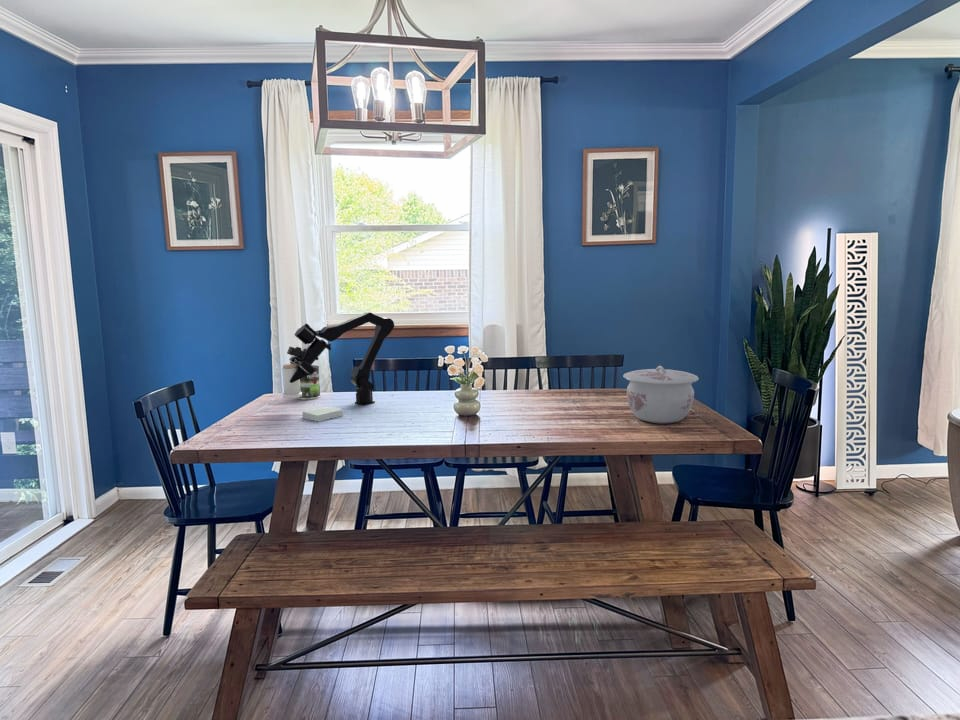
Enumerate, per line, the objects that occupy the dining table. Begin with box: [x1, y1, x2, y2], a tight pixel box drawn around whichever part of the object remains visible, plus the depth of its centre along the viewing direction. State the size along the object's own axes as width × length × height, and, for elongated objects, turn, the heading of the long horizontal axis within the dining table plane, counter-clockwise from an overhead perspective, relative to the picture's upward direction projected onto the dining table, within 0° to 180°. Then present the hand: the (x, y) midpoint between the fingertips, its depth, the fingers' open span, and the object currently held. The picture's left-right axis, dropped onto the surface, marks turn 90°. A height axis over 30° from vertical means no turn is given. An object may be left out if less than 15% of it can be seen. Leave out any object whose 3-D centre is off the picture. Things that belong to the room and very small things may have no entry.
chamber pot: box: [622, 365, 699, 425], centre depth 239 cm, size 28×28×21 cm
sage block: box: [301, 405, 344, 422], centre depth 252 cm, size 12×10×2 cm
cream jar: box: [281, 363, 302, 399], centre depth 258 cm, size 7×7×13 cm
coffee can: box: [297, 364, 321, 401], centre depth 288 cm, size 10×10×14 cm
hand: (288, 380), depth 257 cm, fingers closed on cream jar, 7 cm apart
